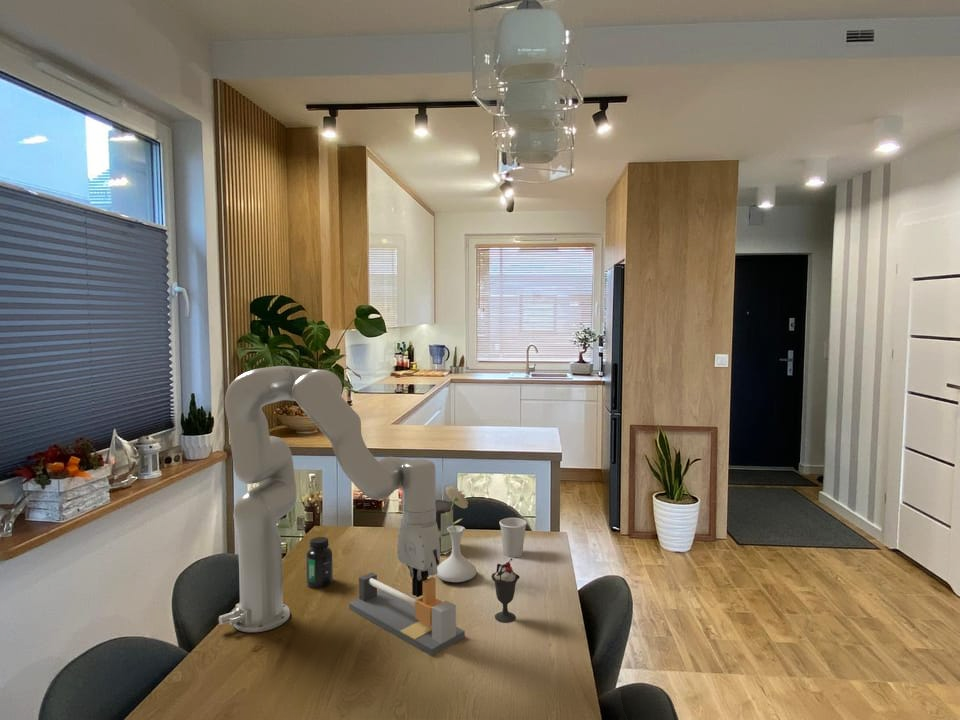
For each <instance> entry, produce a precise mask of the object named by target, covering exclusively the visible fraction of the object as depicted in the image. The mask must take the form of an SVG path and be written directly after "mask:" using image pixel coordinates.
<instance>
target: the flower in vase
mask: <svg viewBox="0 0 960 720" xmlns="http://www.w3.org/2000/svg"><path fill="white" fill-rule="evenodd" d="M445 492H446V495H447V496H448V498H449V500H450V502H451V503H453V504H452V507H451V511H450V515H449V514H448V513H447V512H446V513H445V516H446V517H448V518H449V519H450V520H452V523H453V526H450V527H448V528H447V530H448V532H449V533H450V535H451V539H452V551H451V552H450V555H449V557H447V558H446V559H444V560H443V561H442V562H440V563H439V565H438V566H437V571H438V573H437V574H435V575H436V576H437V577H438V578H439V579H440V580H442V581H445V582H449V583H450V582H451V583H462V582H466V581H469V580H472V579H473V578H474V577H475V576H476V575H477V573H478V572H477V571H478V570H477V567H476V566H475V565H474V564H473V563H472V562H471V561H470V560H469V559H468V558H465V557H464V555H462V553H461V540H462V536H463V533H464V532H465V531H466V528H465V527H464V526H462V525H455V524H457V523H459V522H460V521H462V520H463V519H464V517H462V518H458V519H457V520H456V521H454V518H453V519H452V516H451V512H452V508H453V509H454V505H456V506H457V507H459V508H461V509H466V508H469V507H468V504H469V501H468V499H467V498H466V495H465V494H464V493H462V492H461V491H459V488H458V487H454V486H453V485H449V486H447V487H446V488H445Z"/></svg>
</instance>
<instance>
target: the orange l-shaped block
mask: <svg viewBox="0 0 960 720" xmlns="http://www.w3.org/2000/svg"><path fill="white" fill-rule="evenodd" d="M436 579H437V578H436V577H434V576H432V577H429V578H427V580H424V581H423V595H422V597H421V598H418V599H416V601H415V618H416V619H418V620H419V621H421V622H423V623H425V624H427V625H429V626H431V625H432V607H434V606H436V605H438V604H440V603H442V602H443V601H442V600H440V599H437V597H436V594H437V593H436V592H437V589H436Z"/></svg>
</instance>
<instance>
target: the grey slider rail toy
mask: <svg viewBox="0 0 960 720" xmlns="http://www.w3.org/2000/svg"><path fill="white" fill-rule="evenodd" d="M416 600H417V598H415V597H413V596H412V597H411V596H410V595H407V594H406V593H404V592H401V591H399V590H397V589H395V588H394V587H391V586H390V585H387V584H385V583H383V582H381V581H379V580H378V575H377V573H374V572H370V573H367V574H365V575H362V576H359V577H358V599H356V600H353V601H351V602H349V603H348V609H349V610H350V611H352V612H354V613H356V614H357V615H359V616H360V617H363V618H365V620H368V621H370V622H371V623H373V624H375V625H376V626H378V627H380V628H382V629H384V630H385V631H387V632H389V633H391V634H392V635H394V636H396V637H398V638H399V639H400V640H403V641H405V642H407V643H408V644H409V645H411V646H414V647H415V648H417V649H419V650H420V651H422V652H424V653H426V654H427V655H429V656H431V657H433V656H435V655H436V654H438V653H440V652H441V651H443V650H445V649H446V648H449V647H450V646H452V645H454V644H456V643H458V642H459V641H460V640H463V639H465V636H466V634H465V633H466V631H465V630H464V629H462V628H460V627H458V626H457V624H456V623H457V604H455V603H452V602H450V601H448V600H444V601H442V603H440V604H438V605H436V606H434V607H432V625H431V626H429V625H427V624H425V623H423V622H421V621H419V620H418V619H416V618H415V601H416Z"/></svg>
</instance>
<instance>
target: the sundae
mask: <svg viewBox="0 0 960 720" xmlns="http://www.w3.org/2000/svg"><path fill="white" fill-rule="evenodd" d="M509 558H510V557H509ZM513 559H514V558H510V559H509V560H508V562H505V563H504V564H500V563H497V565H496V572H493V573H492V574H491V580H492V581H493V582H494V589H495V594H496V598H497V601H499V602H500V603H501V604H502V610H501V611H500V612H497V613H496V614H495V615H494V619H495V620H496V621H498V622H500V623H512V622H514V621H515V620H516V615H515V614H514V613H512V612H510V611H508V605H509V603H511V602H512V601H513V600H514V597H515V590H516V585H517V582H518V580H519V579H520V578H521V577H520V575H519V574H517V573H516V572H514V569H513V568H512V566H511V562H512V561H513Z"/></svg>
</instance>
